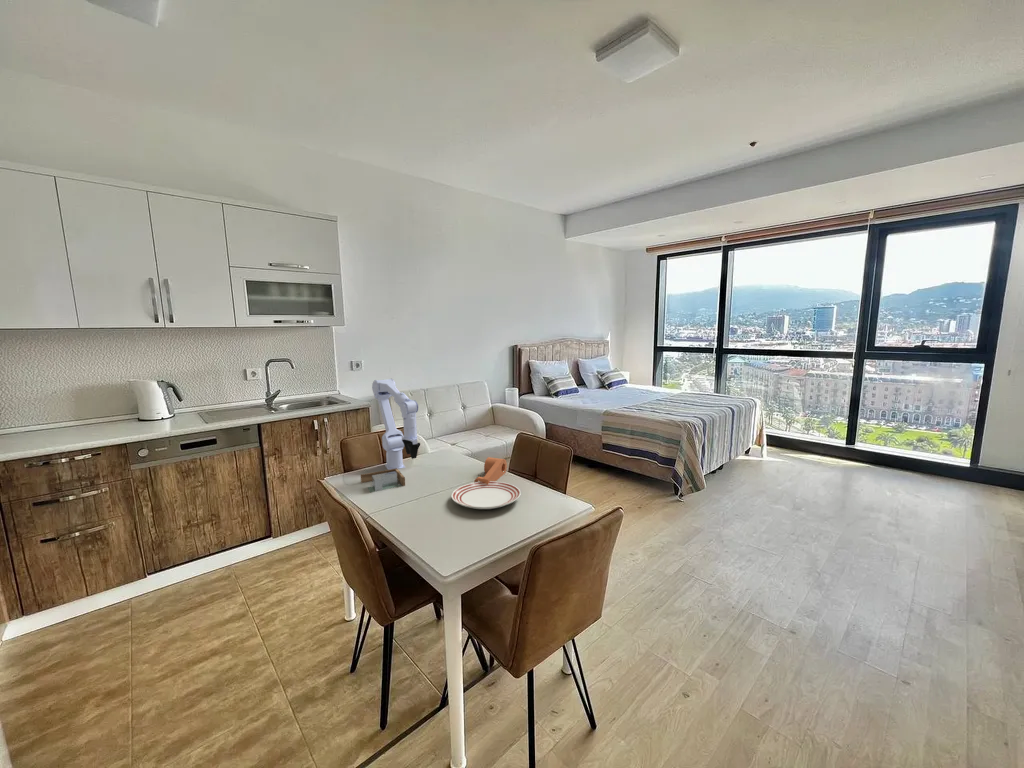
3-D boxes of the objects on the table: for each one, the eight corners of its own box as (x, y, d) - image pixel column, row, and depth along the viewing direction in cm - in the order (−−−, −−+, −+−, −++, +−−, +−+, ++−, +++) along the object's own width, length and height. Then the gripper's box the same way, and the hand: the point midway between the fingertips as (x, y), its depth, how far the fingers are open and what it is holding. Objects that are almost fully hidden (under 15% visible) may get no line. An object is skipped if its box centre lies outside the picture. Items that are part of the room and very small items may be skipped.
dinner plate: (449, 490, 168) (449, 482, 167) (512, 484, 173) (512, 477, 173) (453, 519, 141) (453, 510, 141) (528, 511, 147) (528, 502, 146)
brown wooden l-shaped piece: (361, 483, 176) (360, 474, 176) (397, 476, 184) (396, 468, 184) (366, 494, 164) (366, 484, 164) (405, 486, 172) (404, 477, 172)
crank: (491, 471, 190) (491, 455, 189) (506, 473, 187) (506, 457, 186) (471, 486, 172) (471, 468, 171) (488, 488, 169) (487, 470, 168)
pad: (367, 487, 172) (367, 486, 172) (397, 481, 178) (397, 480, 178) (370, 492, 166) (370, 492, 166) (401, 486, 172) (401, 485, 172)
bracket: (395, 482, 177) (395, 471, 176) (399, 486, 171) (398, 475, 171) (372, 486, 172) (371, 475, 171) (375, 491, 167) (374, 479, 166)
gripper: (397, 425, 185) (398, 453, 187) (405, 431, 173) (407, 461, 174) (412, 423, 189) (413, 451, 190) (421, 429, 176) (422, 459, 178)
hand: (411, 456), depth 183 cm, fingers open, 7 cm apart
